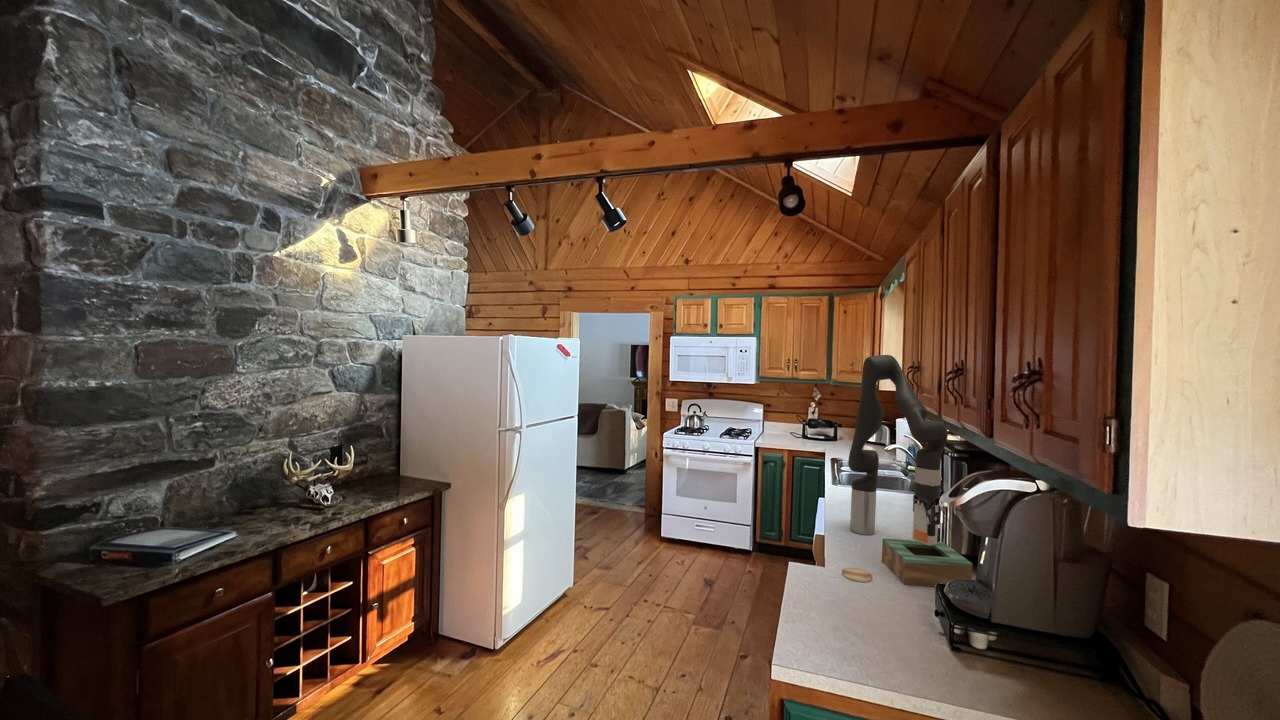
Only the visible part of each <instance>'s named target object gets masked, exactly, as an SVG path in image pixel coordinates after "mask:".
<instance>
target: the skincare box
mask: <svg viewBox="0 0 1280 720" xmlns="http://www.w3.org/2000/svg"><path fill="white" fill-rule="evenodd" d="M930 509H931V508H930ZM927 513H928V514H930V515H931V510H928V511H927ZM936 520H937V517H936ZM927 524H928V523H927V518H926V517H925V516H924V511H923V508H922V506H921V504H918V503H917V504H914V512H913V522H912V539H911V540H916V541H919V542H921V543H924V544H926V545H934V544H937V542H938V534H939V533H938V531H939V530H938V528H939V525H936V526H935V536H928V535H927Z"/></svg>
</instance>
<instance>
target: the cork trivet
mask: <svg viewBox="0 0 1280 720" xmlns="http://www.w3.org/2000/svg"><path fill="white" fill-rule="evenodd" d="M841 575H842V577H844V578H845V579H848V580H850V581H852V582H855V583H856V582H857V583H870V582H872V580H873V574H872V573H870V572H869V571H867V570H864V569H861V568H857V567H845V568H842V570H841Z"/></svg>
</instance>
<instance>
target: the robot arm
mask: <svg viewBox="0 0 1280 720" xmlns="http://www.w3.org/2000/svg"><path fill="white" fill-rule="evenodd" d="M883 380H884V381H885V380H890V381H891V382H892V384H894V387H895V394H894V395H895V396H894V400H895V403H896V406H897V407H898V409H899V411H900V413H902V416H904V417H905V419H906V421H907V426H908V428H909V432H910V434H911V436H912V438H913V439H915V440H916V441H917V442H919V443H927V444H926V446H925V447H923V448H920V449H917V451H916V456H915V457H916V459H915V470H914V481H913V493H914V494H913V499H912V500H913V503H912V512H913V513H914V504H917V503H918V504H921V506H922V508H923V511H924V516H925V517H926V518H927V523H928V524H927V535H928V536H935V526H936V525H938V526H939V525H941V514H942V513H941V512H942V509H941V508H942V507H941V505H936V500H937V499H940V497H941V485H942V484H941V482H942V475H941V462H942V461H941V460H942V458H941V457H942V455H943V452H944V450H945V449H944V448H945V446H946V444H947V440H948V435H949V434H948V432H949V431H948V428H947V427H946V425H945V423H944V422H942V421H939V420H925V419H926V418H927V416H928V414H929V412H928V410H927V408H926V406H925V405H924V404H923V402H922V401H921V400H920V399H919V397H918V396H917V395H916V394H915V392H914V390H913V389H912V387H911V385H910V383H909V381H908V379H907V377H906V375H905V373H904V371H903V369H902V367H901V365H900V363H899V362H898V361H897V359H896V358H895V356H893V355H891V354H879V355H870V356H867V357H866V358H865V360H864V361H863V366H862V374H861V390H860V398H859V403H858V408H857V414H856V419H855V420H856V421H855V428H854V434H853V439H852V443H851V447H850V450H849V455H848V468H849V469H850V471H851V472H855V473H862V474H863V473H864V474H865V475H863V476H862V477H860V478H856V479H853V480H852V481H851V499H850V521H849V522H850V524H849V530H850V531H851V532H852V533H854V534H859V535H866V536H868V535H869V536H871V535H875V532H876V513H877V512H876V511H877V509H876V507H877V505H876V504H877V488H878V487H877V485H878V476H879V475H878V474H879V465H880V461H879V460H880V458H879V453H878V452H877V451H876V450H873V449H863V448H864V446H865V445H866V444H867V442H868V441H869V440H870V439H871V438H873V437H874V436H875V435H876V434H877V433H878V432H879V430H880V429H881V428H882V424H883V419H884V415H885V414H884V413H885V410H884V406H883V404H882V402H881V400H880V399H879V397H878V395H877V393H876V389H877V388H876V387H877V382H878V381H883ZM930 508H931V509H930ZM928 510H931V515H930V514H928V513H927V511H928ZM936 517H937V520H936Z"/></svg>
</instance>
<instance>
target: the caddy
mask: <svg viewBox="0 0 1280 720" xmlns="http://www.w3.org/2000/svg"><path fill="white" fill-rule="evenodd" d="M881 545H882V546H881V547H882V548H881V563H882V564H884V565H885V567H887V568H888V569H889V570H890V571H891V573H892V574H893V575H895V576H896V578H897V579H898V580H899V581H900V582H901V583H902V584H903V585H907V586H917V587H920V586H921V587H935V585H936V584H937V583H942V584H947V583H948V582H951V581H954V580H972V581H973V563H972V562H971V561H969V559H967V558H966V557H964V556H963V555H961V554H960V553H958V552H957V551H956V550H955V549H953V548H952V547H951V546H949V545H948V544H946V543H945V542H943V541H937V544H934V545H926V544H924V543H921V542H919V541H916V540H914V539H897V538H882V544H881ZM935 588H936V587H935Z"/></svg>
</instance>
